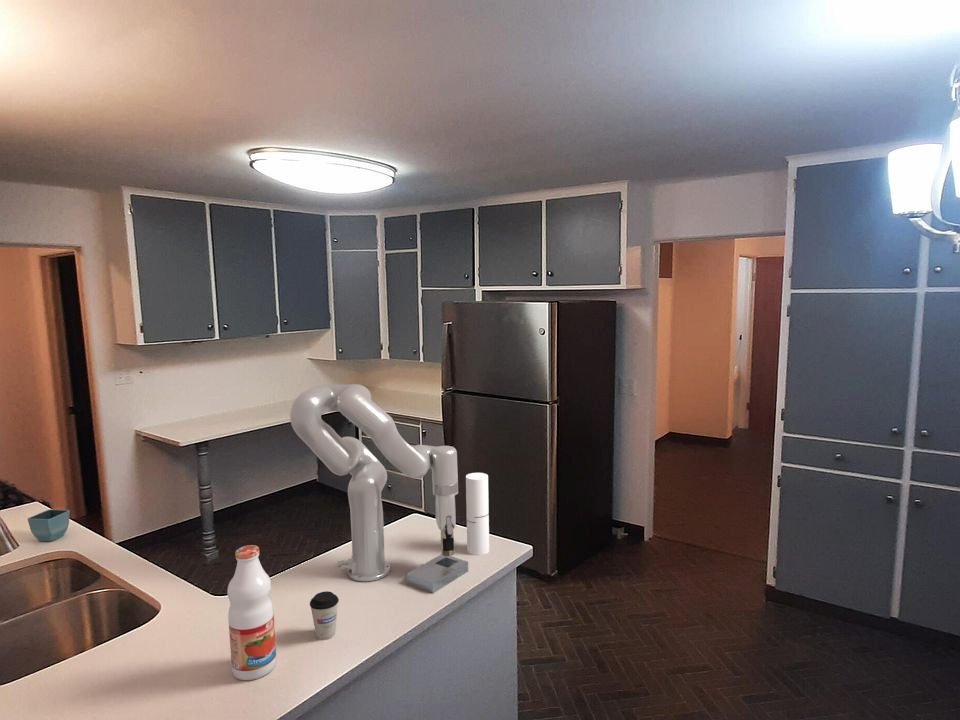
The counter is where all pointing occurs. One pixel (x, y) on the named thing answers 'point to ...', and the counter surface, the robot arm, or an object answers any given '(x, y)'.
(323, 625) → the coffee cup
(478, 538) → the cylindrical container
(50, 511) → the flower pot
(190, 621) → the counter surface
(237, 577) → the fruit juice
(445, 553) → the tan cylindrical peg
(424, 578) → the jig plate
